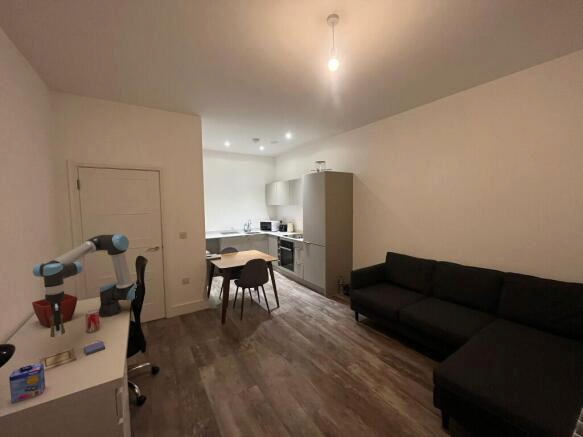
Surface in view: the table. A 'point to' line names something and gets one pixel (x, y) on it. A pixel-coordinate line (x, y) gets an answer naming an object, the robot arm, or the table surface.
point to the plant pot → (45, 311)
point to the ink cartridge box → (27, 382)
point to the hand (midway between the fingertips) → (57, 333)
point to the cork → (53, 326)
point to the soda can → (92, 321)
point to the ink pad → (93, 348)
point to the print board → (58, 359)
